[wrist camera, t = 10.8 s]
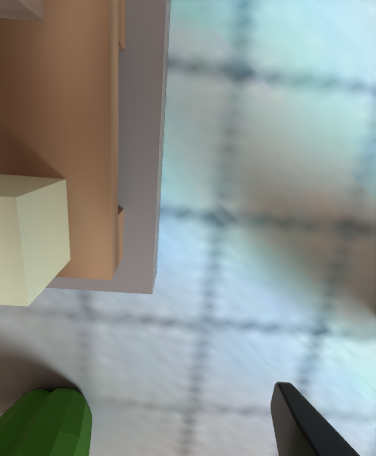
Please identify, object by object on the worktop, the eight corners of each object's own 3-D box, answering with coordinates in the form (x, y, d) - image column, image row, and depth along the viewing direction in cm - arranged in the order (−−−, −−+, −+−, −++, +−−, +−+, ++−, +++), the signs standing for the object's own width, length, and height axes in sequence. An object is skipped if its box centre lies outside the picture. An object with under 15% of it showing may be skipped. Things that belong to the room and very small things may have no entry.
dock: (190, -381, 12) (192, -549, 9) (156, 272, 21) (152, 294, 18) (-128, -431, 11) (-235, -627, 8) (-18, 261, 20) (-51, 281, 18)
